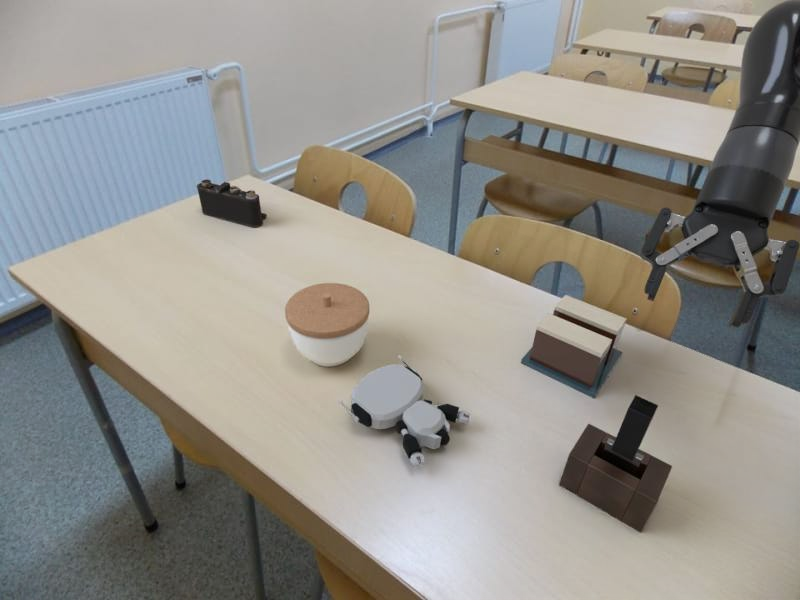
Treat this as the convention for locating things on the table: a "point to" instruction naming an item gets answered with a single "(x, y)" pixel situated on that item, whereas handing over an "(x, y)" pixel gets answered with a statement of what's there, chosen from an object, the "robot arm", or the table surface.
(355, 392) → the robot toy
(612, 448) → the dark grey tall bar
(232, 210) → the camera
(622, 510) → the brown rectangular frame
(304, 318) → the lidded bowl
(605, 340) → the slotted fixture
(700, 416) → the table surface
